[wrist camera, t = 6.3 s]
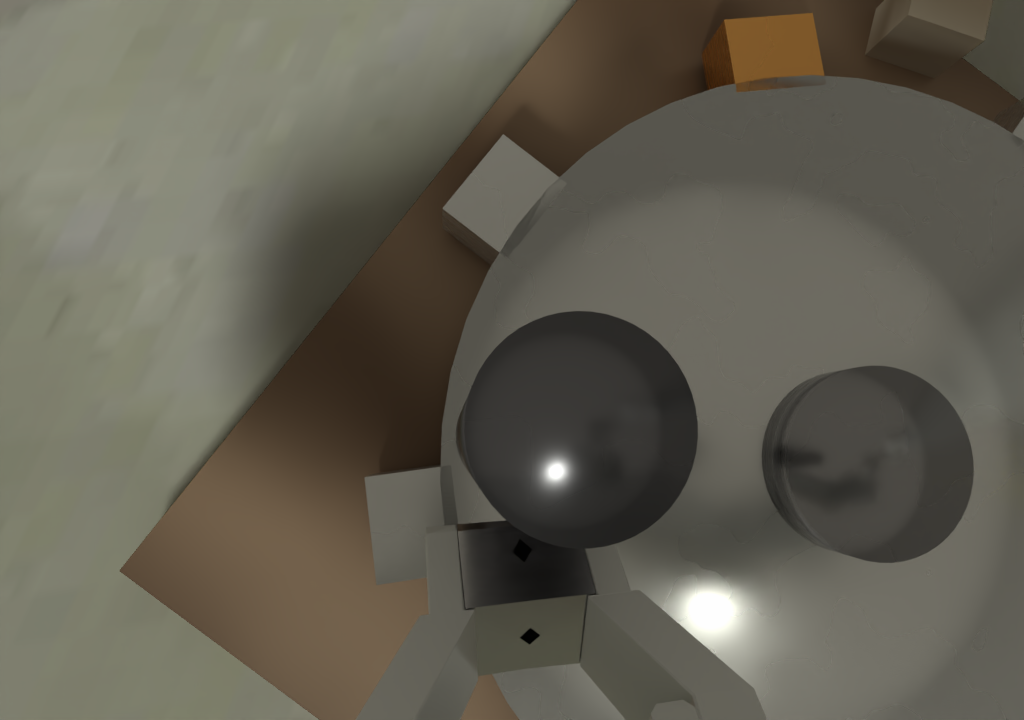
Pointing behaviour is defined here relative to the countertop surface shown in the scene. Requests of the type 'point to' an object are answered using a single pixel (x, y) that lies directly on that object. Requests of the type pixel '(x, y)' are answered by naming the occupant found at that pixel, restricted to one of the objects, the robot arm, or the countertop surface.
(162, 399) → the countertop surface
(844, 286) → the sprocket
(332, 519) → the sprocket base
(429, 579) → the robot arm
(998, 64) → the countertop surface
